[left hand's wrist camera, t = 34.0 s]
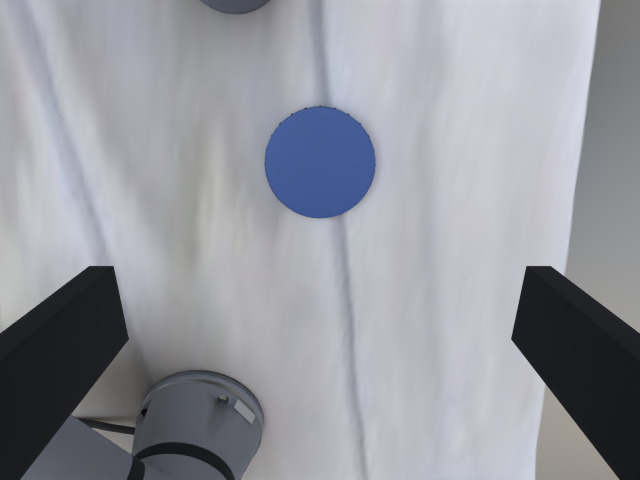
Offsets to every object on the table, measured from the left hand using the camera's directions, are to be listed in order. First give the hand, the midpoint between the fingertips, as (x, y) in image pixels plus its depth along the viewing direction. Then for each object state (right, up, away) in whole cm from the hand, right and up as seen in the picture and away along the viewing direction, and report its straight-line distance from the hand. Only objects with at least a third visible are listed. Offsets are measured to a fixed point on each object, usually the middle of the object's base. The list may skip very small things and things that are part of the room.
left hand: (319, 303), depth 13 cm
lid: (0, +9, +24) cm, 25 cm away
